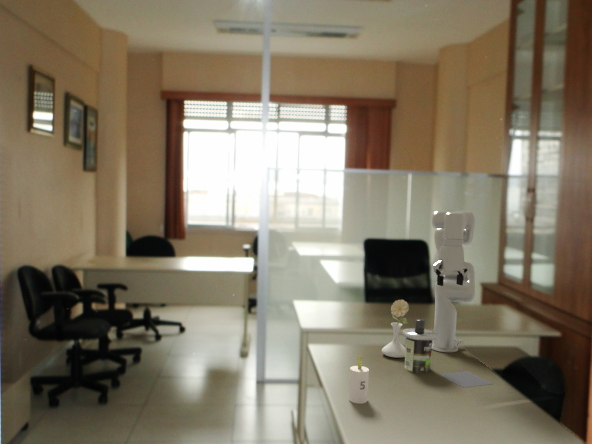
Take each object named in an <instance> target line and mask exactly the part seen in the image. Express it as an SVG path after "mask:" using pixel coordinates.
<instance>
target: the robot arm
mask: <svg viewBox="0 0 592 444" xmlns="http://www.w3.org/2000/svg"><path fill="white" fill-rule="evenodd" d="M431 215H432V217H431V224H432V227H433V228H434V229H435V230H434V233H433V234H434V245H435V248H436V250H437V254H438V257H437V261H436V262H435V263H434V264H432V269H433V271H434V273H435V275H436V277H437V278H436V282H435V283H434V290H433V291H434V301H435V302H434V321H433V323H434V324H433V332H435V333H436V339H434V340H432V351H433V350H434V351H436V352H440V353H457V352H458V351H459V347H458V345H462V344H464V340H463V339H457V338H456V332H457V331H456V330H457V316H458V315H457V314H458V312H457V309H456V307H455V305H454V304H453V303H454V302H458V303H472V302H473V301H474V299H475V296H476V278H475V277H476V276H475V274H476V273H475V267H474V265H473V263H471V262H468V261H467V262H466V261H465V253H464V251H465V250H464V247H463V246H468V245H471V244H472V242H473V238H474V231H475V222H476V221H475V215H474V213H473V212H472V211H470V210H457V209H455V210H453V209H447V210H435V211H433V213H432V214H431ZM452 302H453V303H452Z"/></svg>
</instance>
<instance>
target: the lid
mask: <svg viewBox="0 0 592 444" xmlns="http://www.w3.org/2000/svg"><path fill="white" fill-rule="evenodd" d="M414 322H415V323H414V327H413V328H412V327H411V328H405V329H403V330H402V336H403V337H405V338H406V337H407V338H410V339H414V340H423V341H428V340H432V341H433V340H434V339H436V333H435V332H434V330H433V331H432V330H429V329H425V327H426V326H425V324H426V323H425V322H426V320H425V319H422V318H421V319H420V318H416V319H415V321H414Z"/></svg>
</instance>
